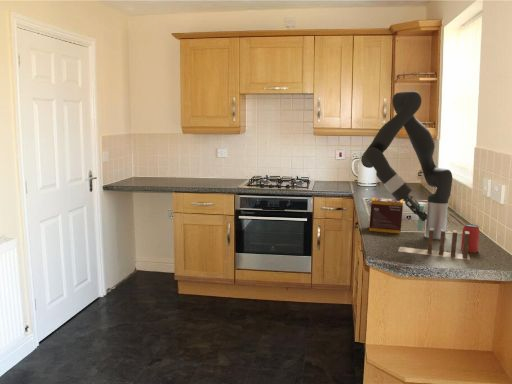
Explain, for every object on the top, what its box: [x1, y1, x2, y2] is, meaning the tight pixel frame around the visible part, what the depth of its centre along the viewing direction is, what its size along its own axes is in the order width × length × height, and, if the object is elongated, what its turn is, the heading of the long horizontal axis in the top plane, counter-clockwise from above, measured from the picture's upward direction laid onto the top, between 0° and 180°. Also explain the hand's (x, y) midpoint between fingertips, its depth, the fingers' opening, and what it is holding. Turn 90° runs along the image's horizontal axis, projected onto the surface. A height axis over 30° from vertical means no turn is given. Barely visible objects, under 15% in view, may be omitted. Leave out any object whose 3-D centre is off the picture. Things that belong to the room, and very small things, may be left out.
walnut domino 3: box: [450, 229, 458, 257], centre depth 201 cm, size 2×5×10 cm, turn 159°
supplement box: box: [368, 197, 404, 234], centre depth 249 cm, size 10×15×16 cm
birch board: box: [398, 246, 471, 261], centre depth 204 cm, size 28×8×1 cm, turn 69°
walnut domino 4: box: [462, 231, 470, 258], centre depth 199 cm, size 2×5×10 cm, turn 159°
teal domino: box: [417, 203, 425, 231], centre depth 204 cm, size 2×5×10 cm, turn 159°
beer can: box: [460, 223, 480, 253], centre depth 210 cm, size 7×7×12 cm
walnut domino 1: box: [427, 228, 434, 254], centre depth 204 cm, size 2×5×10 cm, turn 159°
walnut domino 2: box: [438, 229, 446, 257], centre depth 202 cm, size 2×5×10 cm, turn 159°
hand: (425, 218), depth 203 cm, fingers closed on teal domino, 5 cm apart
